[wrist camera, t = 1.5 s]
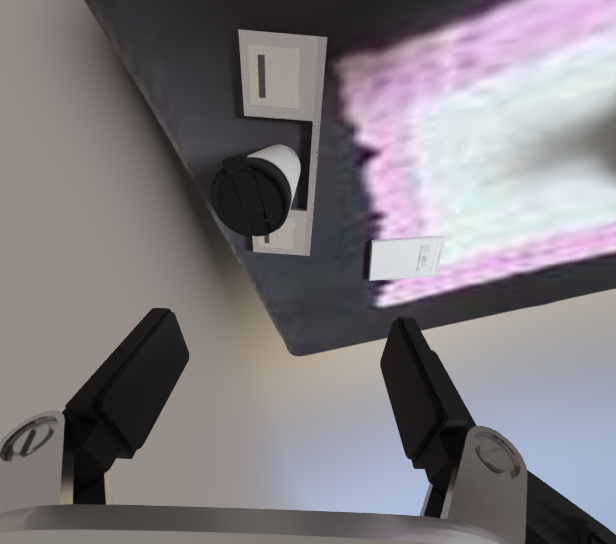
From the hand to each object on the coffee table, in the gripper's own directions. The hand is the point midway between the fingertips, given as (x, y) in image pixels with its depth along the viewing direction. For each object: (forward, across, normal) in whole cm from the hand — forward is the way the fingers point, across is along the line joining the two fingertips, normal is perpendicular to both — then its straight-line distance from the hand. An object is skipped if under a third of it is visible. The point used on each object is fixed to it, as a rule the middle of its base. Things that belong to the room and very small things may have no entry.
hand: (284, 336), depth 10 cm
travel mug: (+31, +4, -3) cm, 31 cm away
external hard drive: (+31, -19, +12) cm, 38 cm away
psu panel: (+31, +4, -3) cm, 31 cm away
